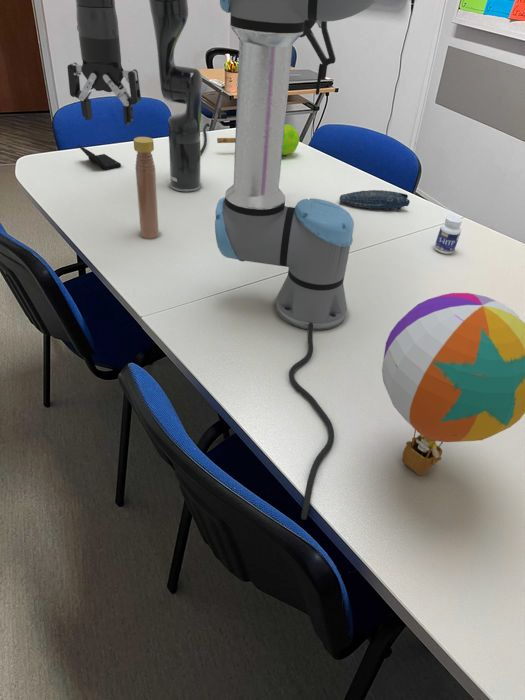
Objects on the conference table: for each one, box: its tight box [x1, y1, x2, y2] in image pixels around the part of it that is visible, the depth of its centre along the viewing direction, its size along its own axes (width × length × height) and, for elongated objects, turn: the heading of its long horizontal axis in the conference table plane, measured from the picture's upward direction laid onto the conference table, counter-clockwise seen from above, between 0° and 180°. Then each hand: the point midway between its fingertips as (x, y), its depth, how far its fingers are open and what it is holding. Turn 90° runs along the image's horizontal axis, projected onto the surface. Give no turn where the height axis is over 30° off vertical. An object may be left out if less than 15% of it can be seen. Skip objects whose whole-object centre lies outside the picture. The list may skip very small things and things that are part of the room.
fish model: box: [339, 189, 411, 211], centre depth 158 cm, size 7×21×5 cm, turn 84°
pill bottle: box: [434, 215, 463, 255], centre depth 137 cm, size 5×5×9 cm
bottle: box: [134, 151, 160, 240], centre depth 127 cm, size 5×5×24 cm
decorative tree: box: [216, 124, 300, 156], centre depth 186 cm, size 18×10×30 cm
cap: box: [133, 136, 155, 153], centre depth 120 cm, size 4×4×2 cm
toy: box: [381, 292, 525, 477], centre depth 72 cm, size 20×20×30 cm
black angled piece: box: [77, 144, 122, 170], centre depth 169 cm, size 12×7×10 cm
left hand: (108, 121), depth 110 cm, fingers open, 8 cm apart
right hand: (290, 90), depth 132 cm, fingers open, 13 cm apart
